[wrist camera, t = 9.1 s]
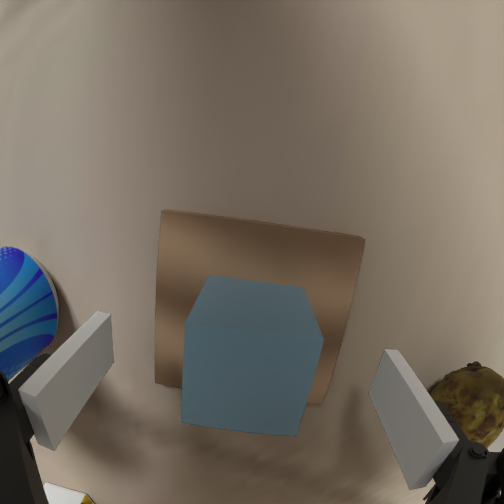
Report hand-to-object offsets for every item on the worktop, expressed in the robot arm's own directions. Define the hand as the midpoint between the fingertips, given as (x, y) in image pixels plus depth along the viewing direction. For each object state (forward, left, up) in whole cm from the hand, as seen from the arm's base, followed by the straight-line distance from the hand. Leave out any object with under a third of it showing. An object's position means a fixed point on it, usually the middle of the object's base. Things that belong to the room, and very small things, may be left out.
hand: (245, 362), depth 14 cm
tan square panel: (0, 0, -6) cm, 6 cm away
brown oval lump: (+7, +17, -7) cm, 20 cm away
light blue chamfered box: (+1, 0, -5) cm, 5 cm away
